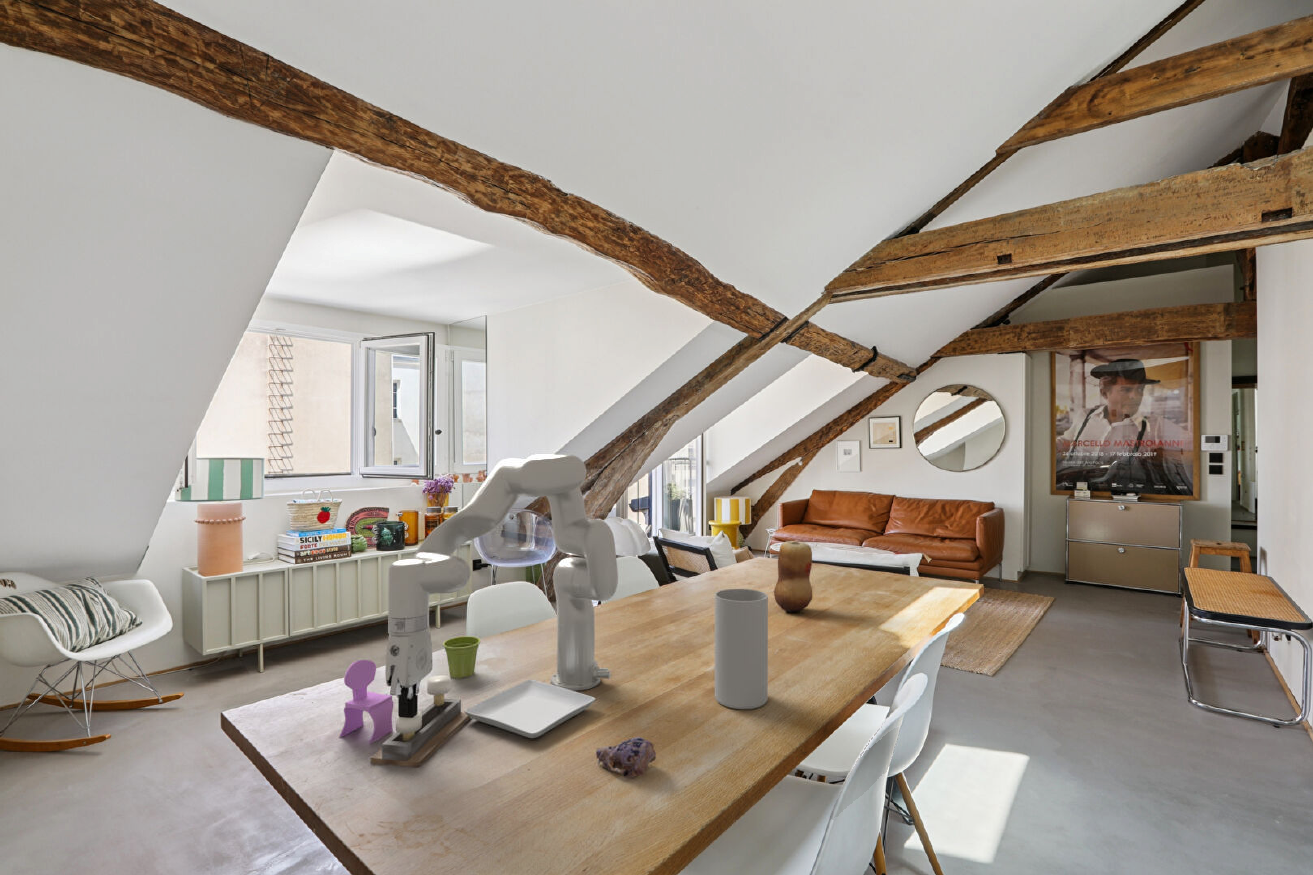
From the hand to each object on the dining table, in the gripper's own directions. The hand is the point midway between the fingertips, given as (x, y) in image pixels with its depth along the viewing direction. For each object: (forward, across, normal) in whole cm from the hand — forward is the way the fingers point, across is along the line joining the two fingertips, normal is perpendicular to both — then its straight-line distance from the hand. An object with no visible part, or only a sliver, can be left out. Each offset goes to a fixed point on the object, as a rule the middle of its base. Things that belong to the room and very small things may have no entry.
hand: (407, 715), depth 127 cm
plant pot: (+7, +41, +9) cm, 43 cm away
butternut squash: (+7, +119, -80) cm, 144 cm away
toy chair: (+8, +6, +13) cm, 16 cm away
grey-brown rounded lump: (+8, +2, -44) cm, 44 cm away
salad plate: (+8, +20, -18) cm, 28 cm away
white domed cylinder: (+5, 0, 0) cm, 5 cm away
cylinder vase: (+7, +37, -64) cm, 74 cm away
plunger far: (+3, +12, 0) cm, 12 cm away
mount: (+7, +6, 0) cm, 10 cm away
